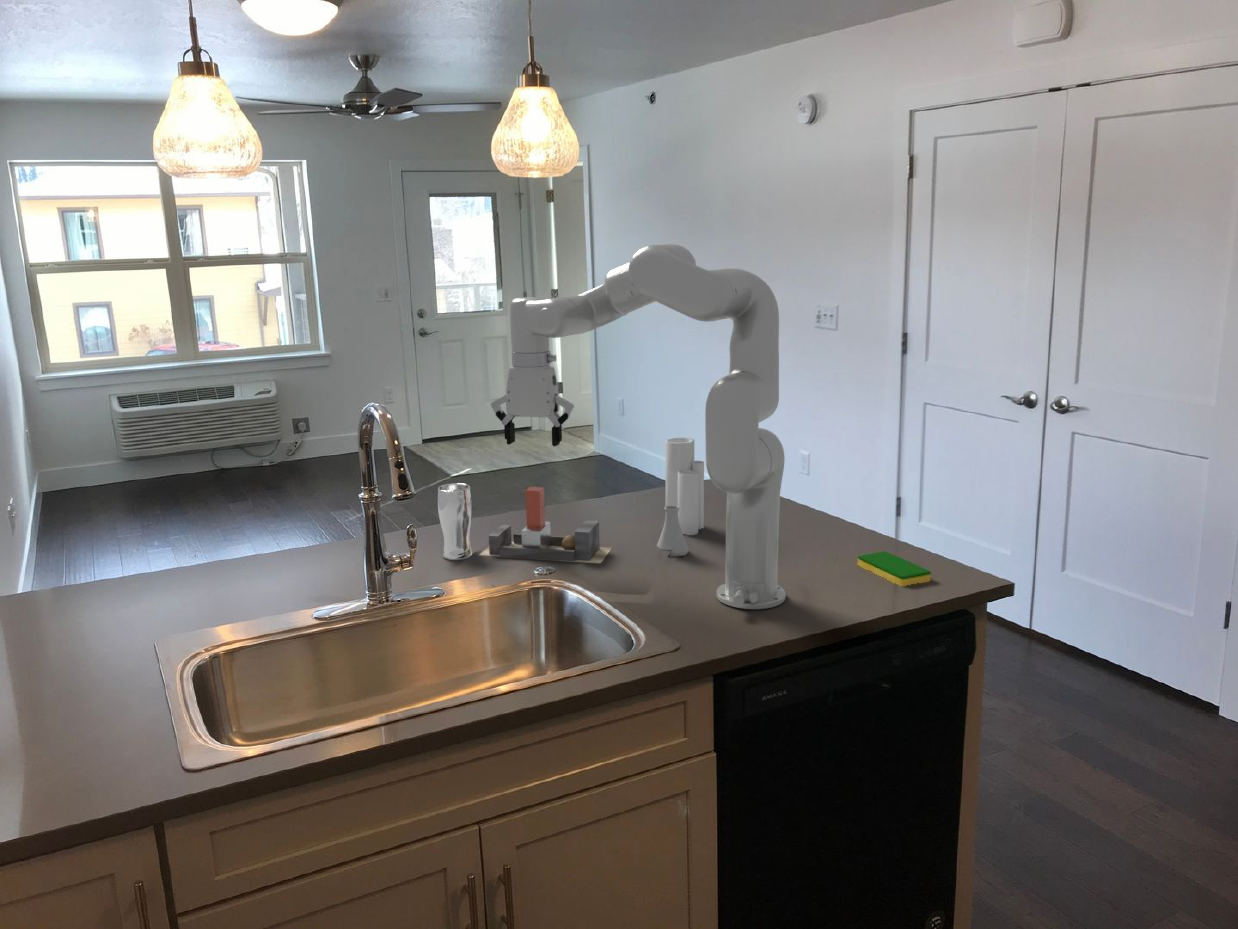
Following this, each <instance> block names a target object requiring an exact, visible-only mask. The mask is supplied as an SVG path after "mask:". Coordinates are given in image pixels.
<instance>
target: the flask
mask: <svg viewBox="0 0 1238 929" xmlns="http://www.w3.org/2000/svg"><path fill="white" fill-rule="evenodd" d="M663 508H664V509H663V510H664V511H665V518H664V523H663V526H662V527H663V528H662V529H661V533H660V536H659V539H658V541H657V544H656V547H658V548H659V549H660V550H667V551H670V552H669V553H668V555H667V557H671V558H674V557H675V558H676V557H683V556H686V555H687V554H688V553H689V547H688V544H687V542H686V541H687V540H686V539H685V537H684V536H685V535H683V533H682V530H681V527H680V524H679V518H678V510H679V508H680V507H679V506H676V505H668V506H666V505H665V506H664V507H663Z"/></svg>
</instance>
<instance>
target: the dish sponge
mask: <svg viewBox="0 0 1238 929" xmlns="http://www.w3.org/2000/svg"><path fill="white" fill-rule="evenodd" d="M858 565H859V566H858ZM857 566H858V567H860V566H861V567H860V568H862V569H864V570H866V571H868V570H870V571H872V572H873V573H872V572H871V573H872V574H874V573H875V575H876V574H877V576H878V575H879V576H878V577H880V576H881V577H880V578H882V577H884V578H883V579H885V578H886V579H885V580H887V581H888V582H890V583H893V584H895V583H896V584H895V585H897V584H898V585H897V586H899V585H900V586H899V587H908V586H907V585H909V586H912V585H911V584H914V585H918V584H917V583H919V584H923V583H929V582H931V572H932V571H931V570H929V569H926V568H924V567H922V566H919V565H918V564H915V563H913V562H911V561H908V560H906V559H904V558H901V557H900V556H897V555H895V554H893V553H890V552H888V551H886V550H885V551H884V550H883V551H879V552H874V553H873V552H871V553H866V554H862V555H861V554H860V555H857ZM870 571H869V572H870Z"/></svg>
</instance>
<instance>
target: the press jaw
mask: <svg viewBox="0 0 1238 929" xmlns="http://www.w3.org/2000/svg"><path fill="white" fill-rule="evenodd" d="M545 508H546V507H545V487H541V486H540V487H539V486H529V487H528V488H527V489H525V515H526V517H525V518H526V526H524V527H523V528H522V530H521V532H520V533H522V547H530V548H546V549H547V548H548V547H549V546H550V545H551V535H552V534H551V533H552V532H551V531H552V530H551V521H546V512H545Z"/></svg>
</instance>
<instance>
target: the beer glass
mask: <svg viewBox="0 0 1238 929" xmlns="http://www.w3.org/2000/svg"><path fill="white" fill-rule="evenodd" d="M472 503H473V502H472V495H471V486H470V485H469V484H467V483H459V482H458V483H457V482H456V483H455V482H454V483H446V484H442V485H439V486H438V487H437V512H438V517H439V522H440V527H441V530H442V534H443V551H442V556H443V558H444V559H445V560H447V561H462V560H466V559H469V558H470V557H471V556H472V555H473V552H472V547H471V542H470V533H471V524H472V515H473V514H472V513H473V505H472Z"/></svg>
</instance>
